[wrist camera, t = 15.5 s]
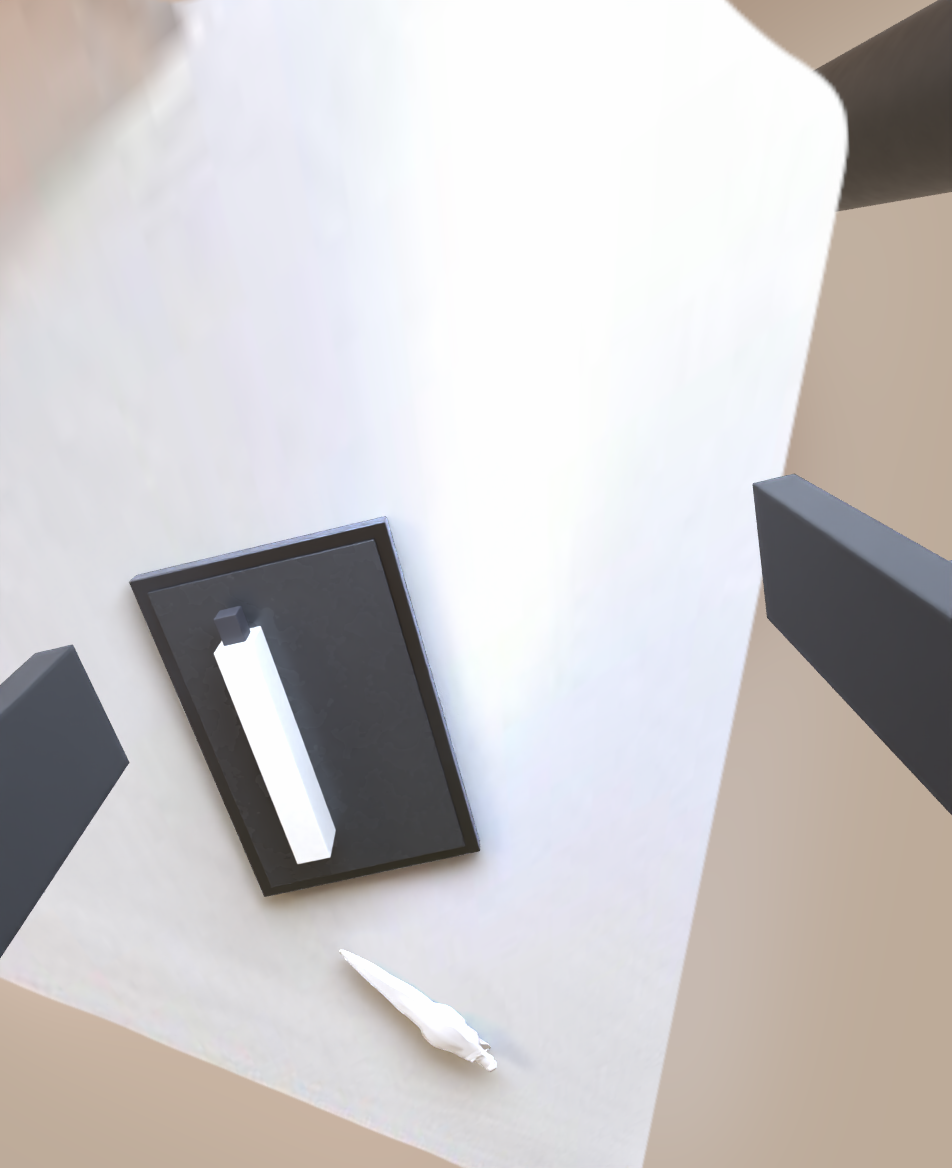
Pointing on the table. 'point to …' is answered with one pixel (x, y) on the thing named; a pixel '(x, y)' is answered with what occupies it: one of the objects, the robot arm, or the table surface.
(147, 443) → the table surface
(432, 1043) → the white tapered piece
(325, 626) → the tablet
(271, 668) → the white rectangular bar
